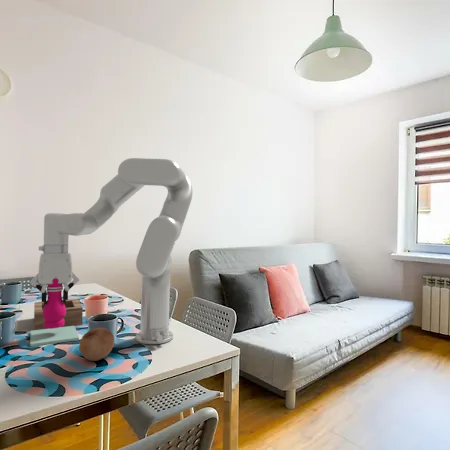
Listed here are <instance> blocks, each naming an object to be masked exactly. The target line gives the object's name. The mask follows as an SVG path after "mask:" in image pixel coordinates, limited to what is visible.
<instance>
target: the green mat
mask: <svg viewBox="0 0 450 450" xmlns="http://www.w3.org/2000/svg"><path fill="white" fill-rule="evenodd" d="M29 340H30V341H29V342H30V343H29V344H30V345H29V348H30V347H38V346H45V345H53V344H58V343H59V344H60V343H67V342H73V341H79V340H80V337H79V333H78V332H77V328H76V325H73V326H65V327H59V328H52V329H49V328H48V329H39V330H34V329H33V330H30V339H29Z"/></svg>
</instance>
